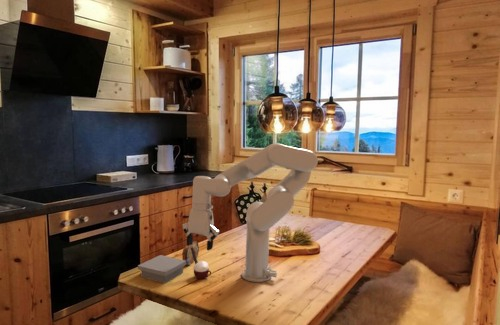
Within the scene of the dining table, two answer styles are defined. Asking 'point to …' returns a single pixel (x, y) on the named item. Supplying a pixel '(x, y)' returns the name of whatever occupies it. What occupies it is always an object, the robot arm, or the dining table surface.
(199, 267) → the cocoa
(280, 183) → the robot arm
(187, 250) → the tin
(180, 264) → the stand
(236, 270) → the dining table surface
